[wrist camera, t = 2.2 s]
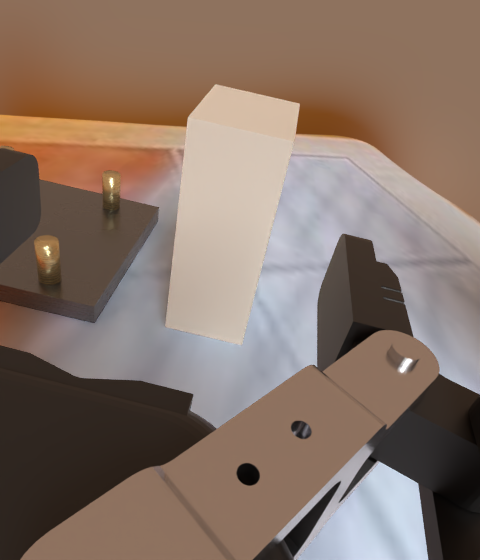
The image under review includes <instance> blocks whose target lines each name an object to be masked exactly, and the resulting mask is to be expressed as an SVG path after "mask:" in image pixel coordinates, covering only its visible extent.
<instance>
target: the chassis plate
mask: <svg viewBox="0 0 480 560" xmlns="http://www.w3.org/2000/svg"><path fill="white" fill-rule="evenodd" d="M0 148H6V149H10V150H14V148H12V147H9V146H0ZM39 185H40V200H41V218H40V222H39V225H38V227H37V229H36V231H35V232H34V233H33V234H32V235H31V236H30V237H29V238H28V239H27V240H26V241H25V242H24V243H23V244H22V245H20V246H19V247H18V248H17V249H16V250H15V251H14V252H13V253H12V254H11V255H10V256H8V257H7V258H6V259H5V260H4V261H3V262H2V263H1V264H0V301H4V302H8V303H12V304H17V305H21V306H25V307H29V308H34V309H38V310H42V311H46V312H50V313H55V314H59V315H63V316H67V317H71V318H76V319H80V320H84V321H88V322H92V323H95V321H96V319H97V318H98V316H99V315H100V313H101V311H102V310H103V308H104V307H105V305H106V303H107V302H108V300H109V299H110V297H111V295H112V294H113V292H114V291H115V289H116V287H117V286H118V284H119V283H120V281H121V279H122V278H123V276H124V275H125V273H126V271H127V270H128V268H129V267H130V265H131V263H132V262H133V260H134V258H135V257H136V255H137V254H138V252H139V250H140V249H141V247H142V246H143V244H144V242H145V241H146V239H147V238H148V236H149V234H150V233H151V231H152V230H153V228H154V226H155V225H156V223H157V222H158V212H159V207H155V206H151V205H147V204H142V203H138V202H134V201H129V200H125V199H121V198H120V173H118V172H116V171H105V172H103V194H100V193H95V192H91V191H87V190H82V189H78V188H74V187H70V186H65V185H61V184H57V183H53V182H48V181H44V180H40V179H39Z"/></svg>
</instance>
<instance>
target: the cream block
mask: <svg viewBox="0 0 480 560" xmlns="http://www.w3.org/2000/svg"><path fill="white" fill-rule="evenodd" d="M299 106H300V104H299V103H294V102H290V101H285V100H281V99H277V98H273V97H268V96H264V95H260V94H255V93H251V92H247V91H242V90H238V89H234V88H229V87H225V86H221V85H215V86H214V87H213V88H212V89H211V90H210V92H209V93H208V94H207V95H206V96H205V97H204V99H203V100H202V101H201V102H200V103H199V105H198V106H197V107H196V108H195V110H194V111H193V112H192V113H191V114H190V115H189V117H188V122H187V131H186V140H185V149H184V159H183V168H182V177H181V186H180V195H179V204H178V214H177V223H176V232H175V241H174V250H173V259H172V269H171V278H170V287H169V296H168V305H167V314H166V324H165V327H167V328H171V329H175V330H179V331H183V332H188V333H192V334H196V335H200V336H204V337H209V338H213V339H217V340H221V341H225V342H230V343H234V344H238V345H242V343H243V339H244V335H245V331H246V327H247V323H248V319H249V315H250V312H251V308H252V304H253V300H254V296H255V292H256V288H257V284H258V280H259V277H260V273H261V269H262V265H263V261H264V257H265V253H266V249H267V245H268V242H269V238H270V234H271V230H272V226H273V222H274V218H275V214H276V211H277V207H278V203H279V199H280V195H281V191H282V187H283V183H284V179H285V176H286V172H287V168H288V164H289V160H290V156H291V152H292V148H293V144H294V140H295V133H296V126H297V120H298V113H299Z"/></svg>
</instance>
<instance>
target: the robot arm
mask: <svg viewBox="0 0 480 560" xmlns="http://www.w3.org/2000/svg"><path fill="white" fill-rule="evenodd" d="M40 218H41V200H40V185H39V169H38V163H37V160H36V158H35V157H34V156H33V155H30V154H26V153H22V152H18V151H14V150H10V149H6V148H0V264H1V263H2V262H3V261H4V260H5V259H6V258H7V257H8V256H10V255H11V254H12V253H13V252H14V251H15V250H16V249H17V248H18V247H19V246H20V245H22V244H23V243H24V242H25V241H26V240H27V239H28V238H29V237H30V236H31V235H32V234H33V233H34V232H35V231H36V229H37V227H38V225H39V222H40ZM192 398H193V394H191V393H187V392H183V391H179V390H175V389H171V388H167V387H163V386H159V385H155V384H151V383H147V382H143V381H134V380H110V379H87V378H79V377H76V376H73V375H71V374H69V373H67V372H65V371H63V370H62V369H60V368H58V367H56V366H54V365H52V364H50V363H48V362H46V361H44V360H42V359H40V358H38V357H36V356H34V355H33V354H31V353H28V352H24V351H20V350H16V349H12V348H8V347H4V346H0V560H297V558H298V557H299V556H300V555H301V554H302V553H303V552H304V550H305V549H306V548H307V547H308V546H309V544H310V543H311V542H312V541H313V540H314V538H315V537H316V536H317V534H318V533H319V532H320V530H321V529H322V528H323V526H324V525H325V524H326V523H327V521H328V520H329V519H330V518H331V516H332V515H333V514H334V513H335V512H336V511H337V509H338V508H339V507H340V506H341V505H342V504H343V503H344V502H345V500H346V499H347V498H348V497H349V496H350V495H351V494H352V493H353V491H354V490H355V489H356V488H357V487H358V486H359V485H360V484H361V482H362V481H363V480H364V479H365V478H366V477H367V476H368V475H369V474H370V472H371V471H372V470H373V469H374V468H375V467H376V466H377V465H378V463H379V462H382V463H383V464H385V465H387V466H389V467H390V468H392V469H394V470H396V471H398V472H399V473H401V474H403V475H405V476H407V477H408V478H410V479H412V480H414V481H415V482H417V483H418V484H419V492H420V499H421V507H422V514H423V522H424V529H425V537H426V544H427V552H428V559H429V560H480V395H479V394H477V393H475V392H473V391H471V390H469V389H467V388H465V387H463V386H461V385H459V384H457V383H455V382H452V381H451V380H449V379H447V378H445V377H443V376H442V375H440V374H439V364H438V361H437V359H436V357H435V356H434V354H433V353H432V352H431V351H430V350H429V348H427V347H426V346H425V345H424V344H423V343H421V342H420V341H419V340H417V339H415V338H414V337H413V333H412V330H411V326H410V322H409V318H408V314H407V310H406V306H405V304H404V299H403V295H402V293H401V287H400V283H399V279H398V277H397V276H396V274H395V273H394V272H393V271H392V270H391V268H390V267H389V266H388V265H387V264H385V263H381V262H377V261H376V258H375V253H374V248H373V243H372V241H371V240H367V239H363V238H359V237H355V236H351V235H347V234H342V235H341V237H340V239H339V241H338V243H337V246H336V248H335V251H334V254H333V256H332V259H331V261H330V264H329V267H328V269H327V272H326V274H325V277H324V280H323V282H322V285H321V289H320V293H319V298H318V312H317V367H316V366H315V365H309V366H307V367H305V368H304V369H302V370H301V371H299V372H298V373H296V374H295V375H294V376H292V377H291V378H289V379H288V380H286V381H285V382H284V383H282V384H281V385H279V386H278V387H276V388H275V389H274V390H272V391H271V392H269V393H268V394H266V395H265V396H263V397H262V398H261V399H259V400H258V401H256V402H255V403H253V404H252V405H251V406H249V407H248V408H246V409H245V410H243V411H242V412H241V413H239V414H238V415H236V416H235V417H233V418H232V419H231V420H229V421H228V422H226V423H225V424H223V425H222V426H221V427H219V428H218V429H216V428H215V427H214V426H213V425H211V424H210V423H209V422H207V421H206V420H205V419H203V418H202V417H200V416H198V415H197V414H195V413H193V412H191V411H190V408H191V403H192Z"/></svg>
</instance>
